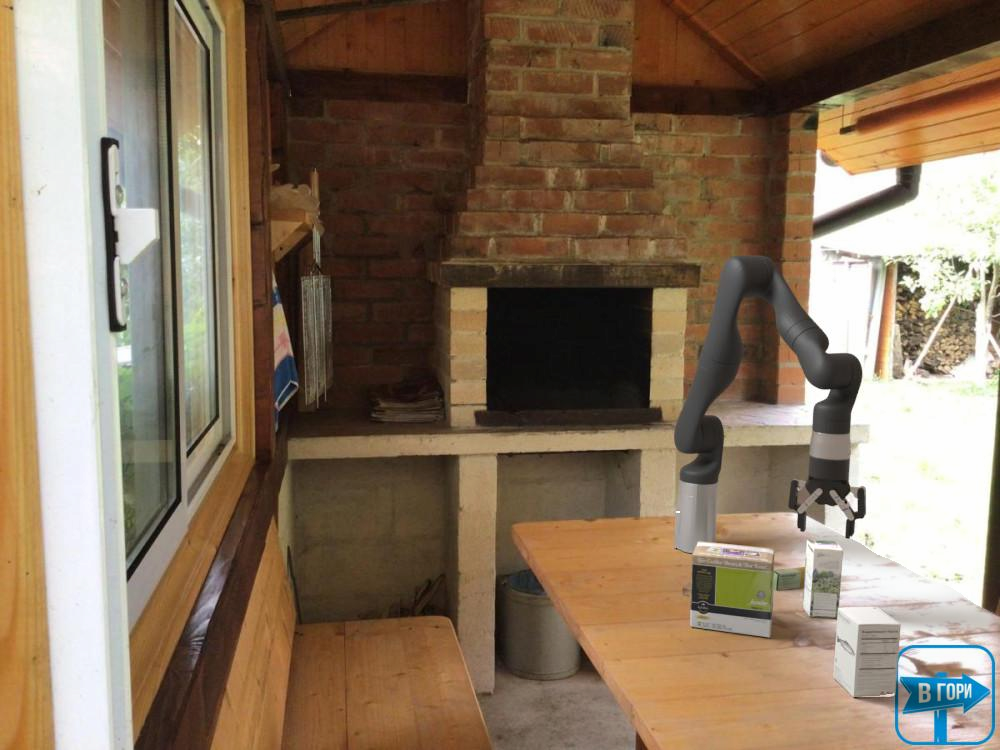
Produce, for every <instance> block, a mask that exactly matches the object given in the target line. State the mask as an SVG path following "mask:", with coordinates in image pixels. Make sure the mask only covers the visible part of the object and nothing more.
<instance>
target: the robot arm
mask: <svg viewBox="0 0 1000 750" xmlns="http://www.w3.org/2000/svg"><path fill="white" fill-rule="evenodd" d="M749 298H750V299H751V298H752V299H753V298H762V299H763V300H765V301H766V303H768V304H769V305H770V306H771V307H772V308H773V310H774V313H775V314H774V315H775V325H776V329H777V332H778V334H779V336H780V338H781V339H782V341H783V342H784V343H785V344H786V345H787V346H788V348H789V349H790V350H791V351H792V352H793V353H794V355H796V358H797V360H798V363H799V366H800V367H801V370H802V372H803V374H804V377H805V379H806V380H807V381H808V383H809V384H810V385H812V386H813V387H815V388H816V389H818V390H824V391H826V390H827V391H829V392H828V396H827V397H826V398H824V399H822V400H819V401H817V402H816V403H815V404H814V406H813V410H812V425H811V427H812V428H811V429H812V430H811V435H810V440H809V441H810V442H809V458H808V477H807V479H806V480H802V479H800V478H798V477H795V478H793V479H792V480H791V482H790V489H789V497H788V508H789V510H794V511H796V512H797V520H796V521H797V522H796V526H797V529H799V532H802V533H804V532H805V531H807V530H806V529H807V515H808V514H807V511H806V510H807V509H809V507H810V506H811V505H812V504H813V503H814V502H815V503H816V504H817V505H822V506H823V505H826V506H829V507H836V506H838V507H839V509H840V510H841V511H842V512H843V514H844V515H845V516H846V518H847V519H846V520H845V534H844V535H845V539H849V540H850V538H851V537H853V536H854V534H855V527H856V525H855V524H856V520H859V519H860V520H862V519H864V518H865V516H866V515H867V514H866V513H867V489H866V487H865V486H864V485H861V486H860V487H859V486H851V485H850V481H849V480H850V466H851V465H850V464H851V454H852V450H851V447H852V442H851V441H852V440H851V426H852V425H851V424H852V423H851V422H852V411H853V409H854V406H855V403H856V401H857V399H858V398H857V397H858V394H859V391H860V388H861V385H862V381H863V367H862V364H861V362H860V360H859V358H858V357H857V356H856V355H854V354H852V353H849V352H837V353H836V352H834V353H833V352H832V353H830V352H829V353H827V350H828V349H829V347H830V340H829V337H828V335H827V334H826V333H825V331H824V330H823V329H822V328H821V327H820V325H818V324H817V323H816V321H815V320H813V318H812V317H811V316H810V315H809V314H808V312H806V310H805V309H804V308H803V306H802V305H801V303H800V302H799V301H798V299H797V298H796V296H795V294H794V292H793V290H792V289H791V287H790V286H789V284H788V282H787V281H786V279H785V277H784V276H783V274H782V272H781V270H780V269H779V268H778V266H777V265H776V264H775V263H774V261H773V260H772V259H771V258H770V257H767V256H766V255H765V256H764V255H759V254H756V255H755V254H753V255H734V256H731V257H730V258H728V259H727V260H726V261H725V263H724V265H723V267H722V270H721V272H720V275H719V279H718V283H717V290H716V295H715V299H714V300H715V301H714V306H713V311H712V314H711V318H710V323H709V327H708V329H707V333H706V337H705V340H704V342H703V345H702V348H701V351H700V355H699V359H698V361H697V365H696V370H695V373H694V376H693V379H692V383H691V385H690V388H689V391H688V395H687V397H686V398H685V401H684V404H683V406H682V408H681V411H680V413H679V415H678V418H677V421H676V423H675V426H674V434H673V440H674V445H675V449H676V450H678V452H680V453H681V454H687V455H694V454H695V455H696V454H697V456H696V457H695V458H694V459H693V460H692V461H691V462H689V463H688V464H685V465H683V466H682V467H681V468H680V471H679V481H678V482H679V483H678V486H679V487H678V508H677V510H675V517H674V518H675V519H674V539H673V540H674V541H673V543H674V545H673V548H674V549H676V548H677V550H680V551H681V552H683V553H684V552H685V553H688V554H693V552H694V550H695V547H696V545H697V543H698V541H702V542H712V543H717V542H716V535H717V514H718V513H717V511H718V496H719V495H718V493H719V491H718V490H719V475H720V473H721V470H722V462H723V453H724V443H725V442H724V441H725V431H724V430H725V429H724V425H723V423H722V421H721V419H720V417H718V416H716V415H713V414H706V413H707V411H708V410H709V408H710V406H711V405H712V404H713V403H714V402H715V401H716V400H717V399H718V398H720V396H721V395H722V394H723V393H725V391H726V390H727V389H728V388H729V387H730V386H731V385H732V384H733V382H734V380H735V379H736V377H737V375H738V373H739V369H740V365H741V363H742V360H743V357H744V343H743V340H742V336H741V333H740V330H739V326H738V316H739V310H740V308H741V304H742V302H743V300H744V299H749ZM804 487H805V489H806V491H807V492H808V494H809V496H808V497H807V499H805V501H803V503H799V502H798V498H799V492H800V491H802V490H803V488H804ZM850 493H852V494H853V497H854V498H855V499H857V511H856V510H854V509H853V508H852V506H851V504H850V502H849V501H848V499H847V497H848V496H849V495H850Z"/></svg>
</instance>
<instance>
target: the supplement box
mask: <svg viewBox="0 0 1000 750" xmlns="http://www.w3.org/2000/svg"><path fill="white" fill-rule="evenodd" d="M836 620H837V621H836V633H835V634H836V635H835V644H834V645H835V646H834V647H835V649H834V661H833V675H832V678H833V679H834V680H835V681H837V682H838V683H839V684H840V686H842V687H843V688H844V689H845V690H846V691H847V692H848V693H849V694H850V696H852V698H854V697H862V696H880V695H886V694H893V693H895V694H896V689H897V676H898V675H897V674H898V663H899V650H900V640H901V639H900V638H901V629H902V627H901V626H902V624H901V622H899V621H898V620H897V619H895V618H893V617H892V616H891V615H889V614H888V613H886V612H885V611H884V610H882V609H881V608H879V607H878V606H847V607H845V606H844V607H840V606H839V608H838V616H837V618H836Z"/></svg>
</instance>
